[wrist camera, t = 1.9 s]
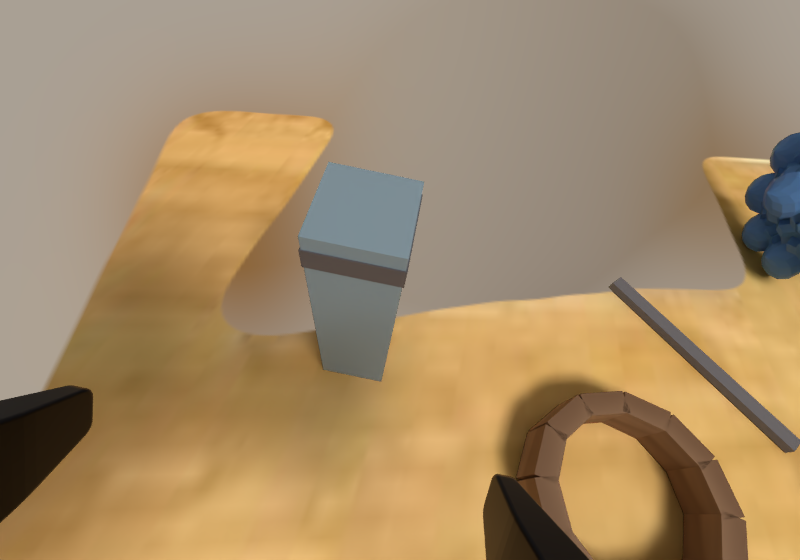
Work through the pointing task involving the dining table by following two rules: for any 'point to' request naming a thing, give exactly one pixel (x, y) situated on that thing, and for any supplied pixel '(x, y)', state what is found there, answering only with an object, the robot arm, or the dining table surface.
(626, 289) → the thin gray square rod
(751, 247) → the grapes
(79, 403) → the robot arm
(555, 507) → the bead ring
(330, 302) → the blue-gray square peg
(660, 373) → the dining table surface
